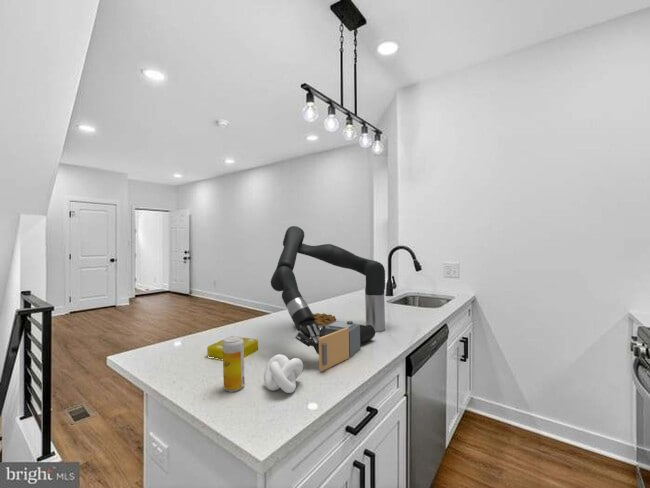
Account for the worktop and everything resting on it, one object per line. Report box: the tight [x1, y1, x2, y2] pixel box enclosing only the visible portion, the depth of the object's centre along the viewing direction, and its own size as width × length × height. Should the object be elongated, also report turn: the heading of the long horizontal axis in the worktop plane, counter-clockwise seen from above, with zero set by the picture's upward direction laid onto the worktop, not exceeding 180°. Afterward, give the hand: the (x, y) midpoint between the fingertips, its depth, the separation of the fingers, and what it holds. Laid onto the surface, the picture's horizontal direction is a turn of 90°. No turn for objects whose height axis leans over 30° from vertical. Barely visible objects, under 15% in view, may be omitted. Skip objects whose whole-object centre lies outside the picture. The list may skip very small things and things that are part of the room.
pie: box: [312, 312, 337, 327], centre depth 157 cm, size 22×22×5 cm
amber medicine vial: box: [222, 335, 246, 393], centre depth 93 cm, size 6×6×15 cm
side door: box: [318, 328, 350, 372], centre depth 107 cm, size 2×16×11 cm, turn 138°
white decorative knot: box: [263, 354, 304, 394], centre depth 91 cm, size 11×12×9 cm
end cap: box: [360, 324, 376, 345], centre depth 131 cm, size 10×7×7 cm
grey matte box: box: [325, 320, 361, 359], centre depth 121 cm, size 10×12×11 cm
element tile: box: [206, 335, 259, 360], centre depth 122 cm, size 15×15×5 cm
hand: (322, 354), depth 105 cm, fingers closed
